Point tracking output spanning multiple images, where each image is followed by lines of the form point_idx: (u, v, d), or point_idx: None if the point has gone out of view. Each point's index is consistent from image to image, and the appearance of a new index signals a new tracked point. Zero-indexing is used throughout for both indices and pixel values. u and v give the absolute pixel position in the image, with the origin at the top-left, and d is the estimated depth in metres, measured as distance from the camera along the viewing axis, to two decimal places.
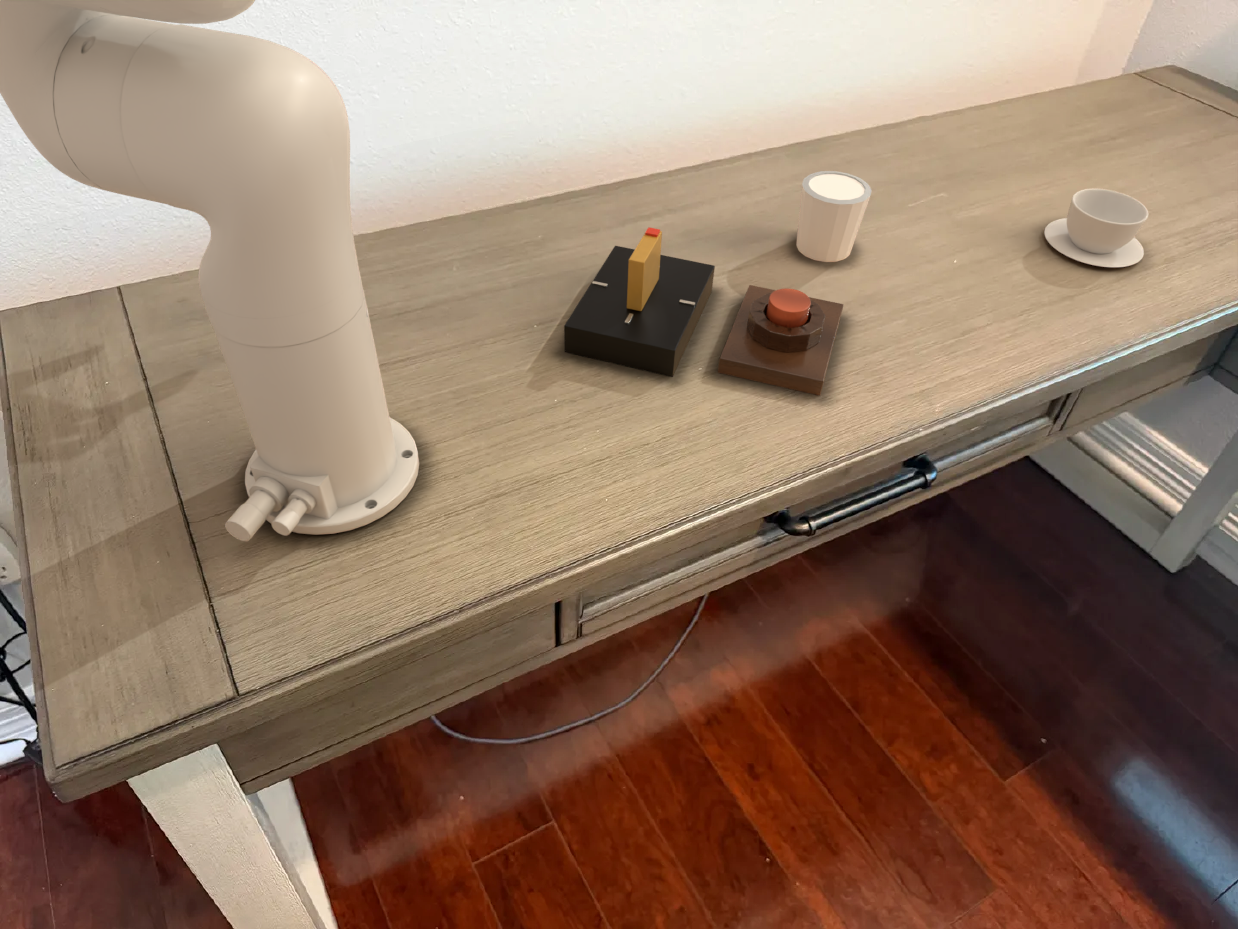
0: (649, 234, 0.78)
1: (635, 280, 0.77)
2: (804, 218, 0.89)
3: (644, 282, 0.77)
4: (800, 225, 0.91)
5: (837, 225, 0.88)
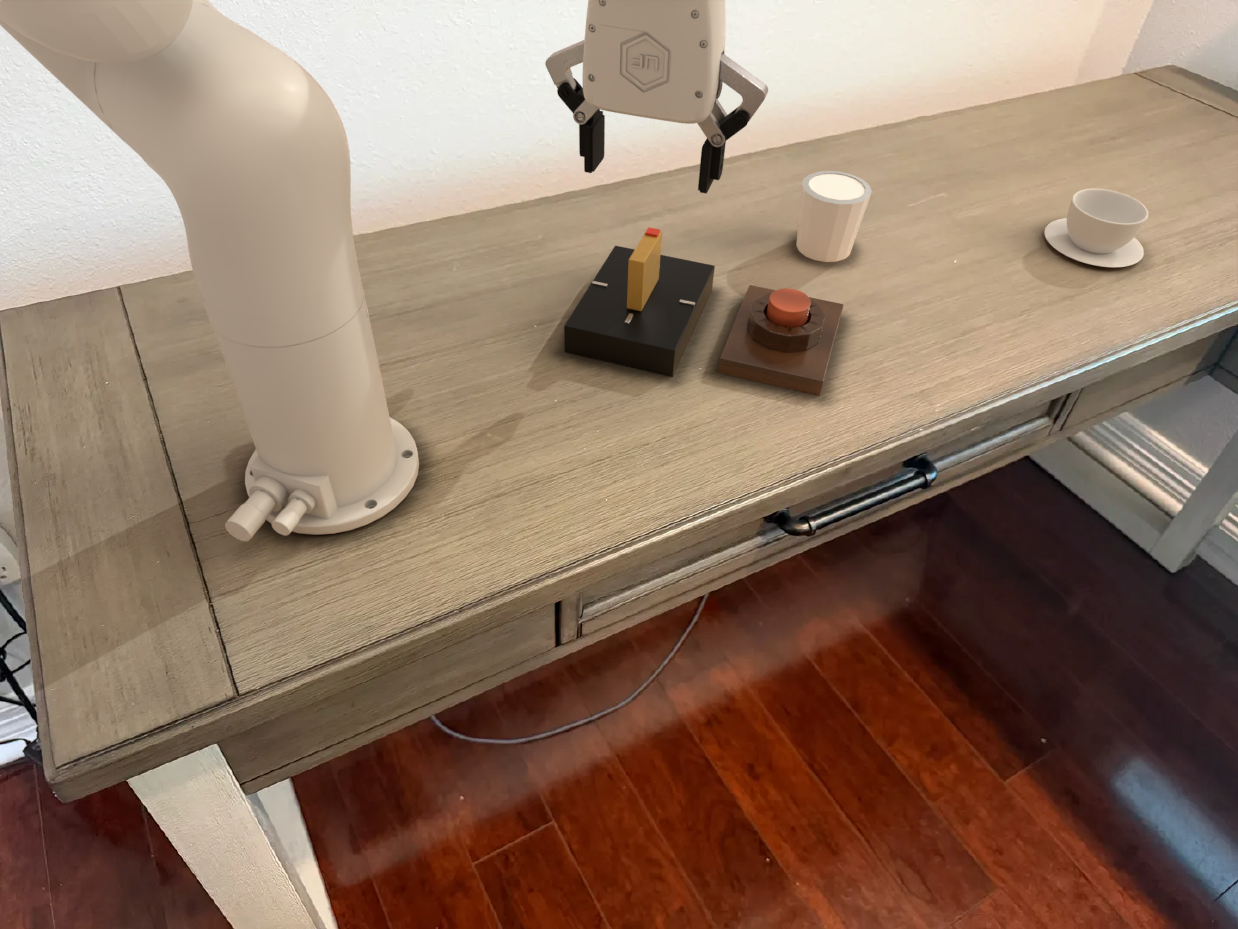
0: (649, 234, 0.78)
1: (635, 280, 0.77)
2: (804, 218, 0.89)
3: (644, 282, 0.77)
4: (800, 225, 0.91)
5: (837, 225, 0.88)
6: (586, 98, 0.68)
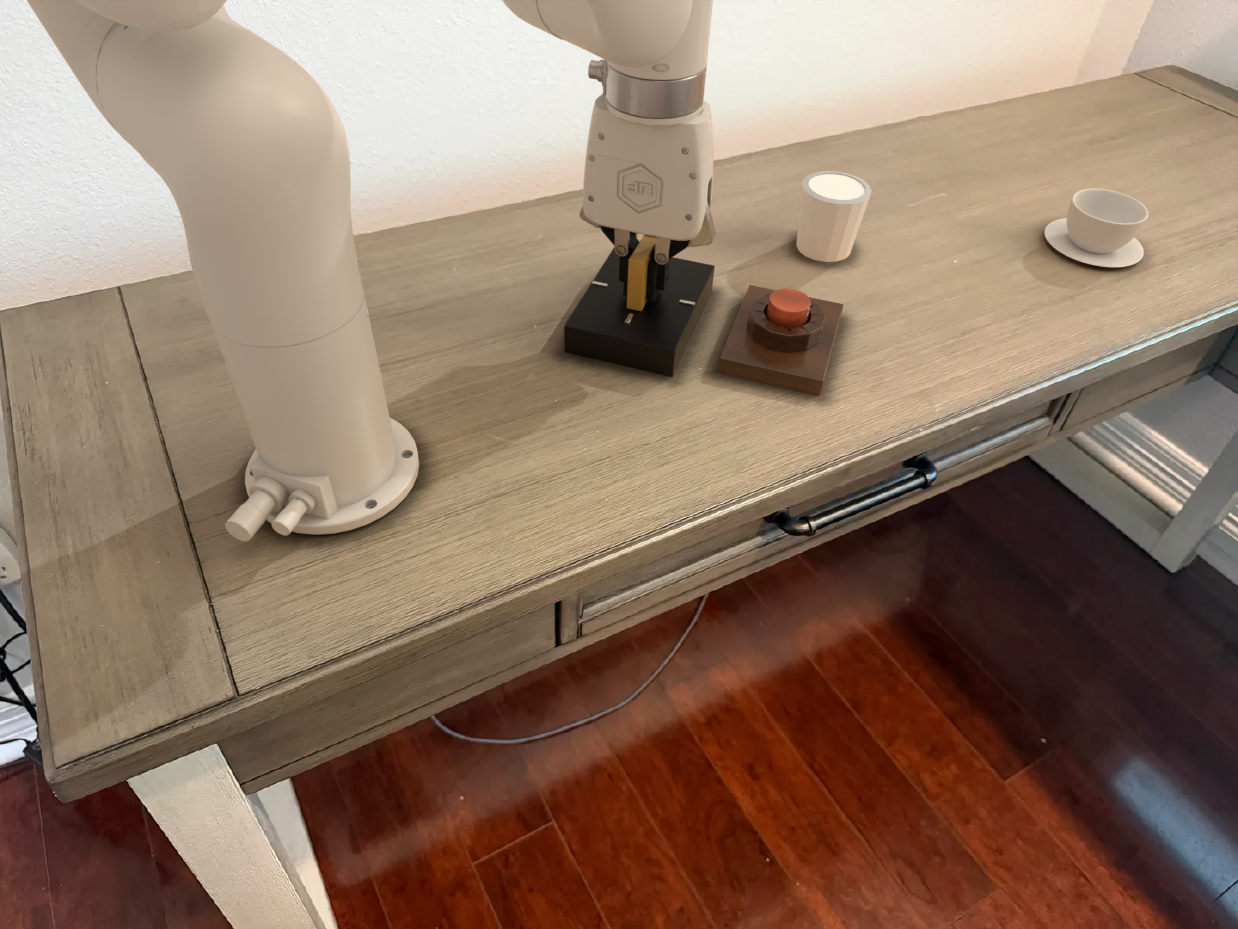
0: None
1: (635, 280, 0.77)
2: (804, 218, 0.89)
3: (644, 282, 0.77)
4: (800, 225, 0.91)
5: (837, 225, 0.88)
6: (586, 215, 0.74)
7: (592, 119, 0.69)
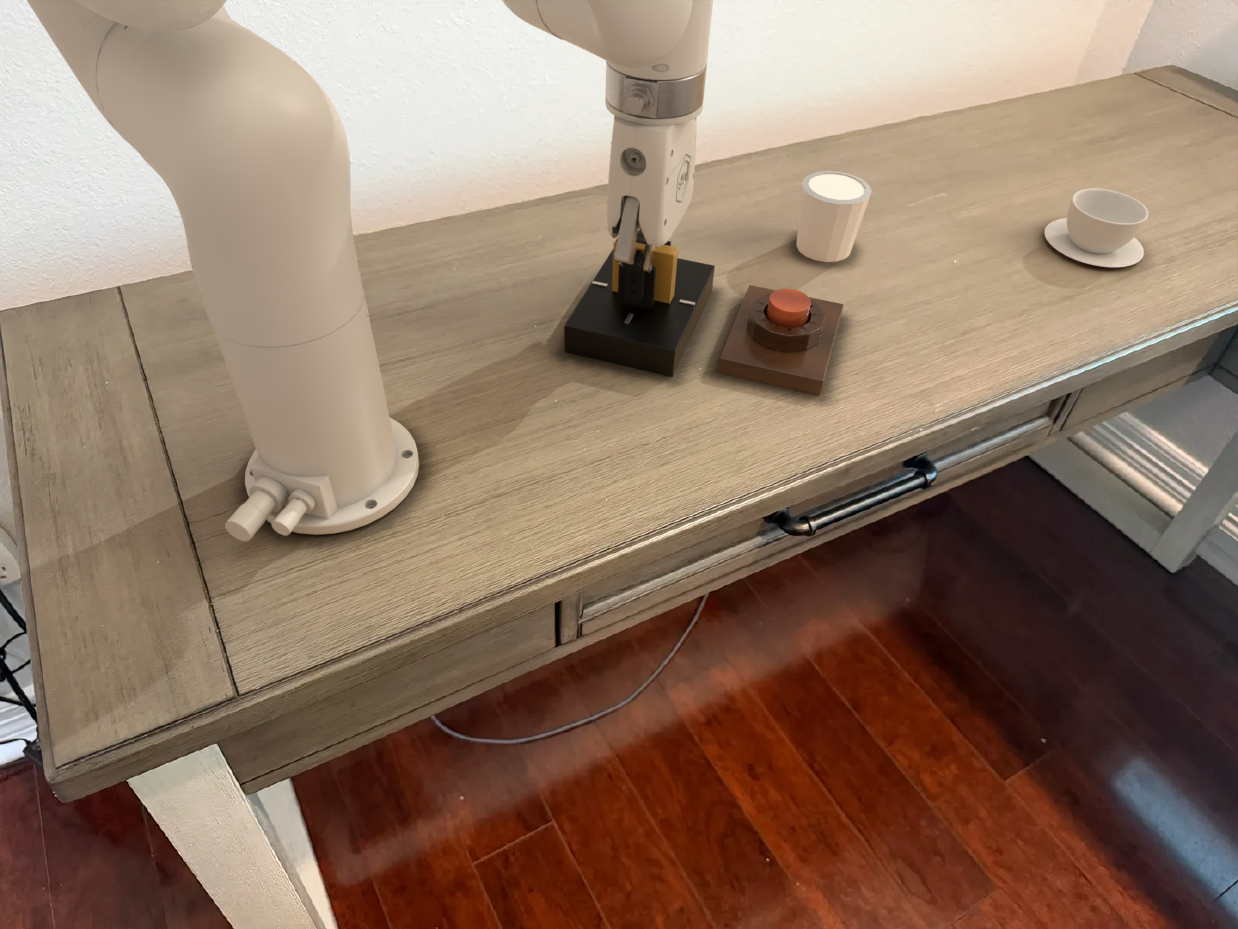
0: None
1: (674, 270, 0.78)
2: (804, 218, 0.89)
3: None
4: (800, 225, 0.91)
5: (837, 225, 0.88)
6: (660, 243, 0.71)
7: (661, 145, 0.66)
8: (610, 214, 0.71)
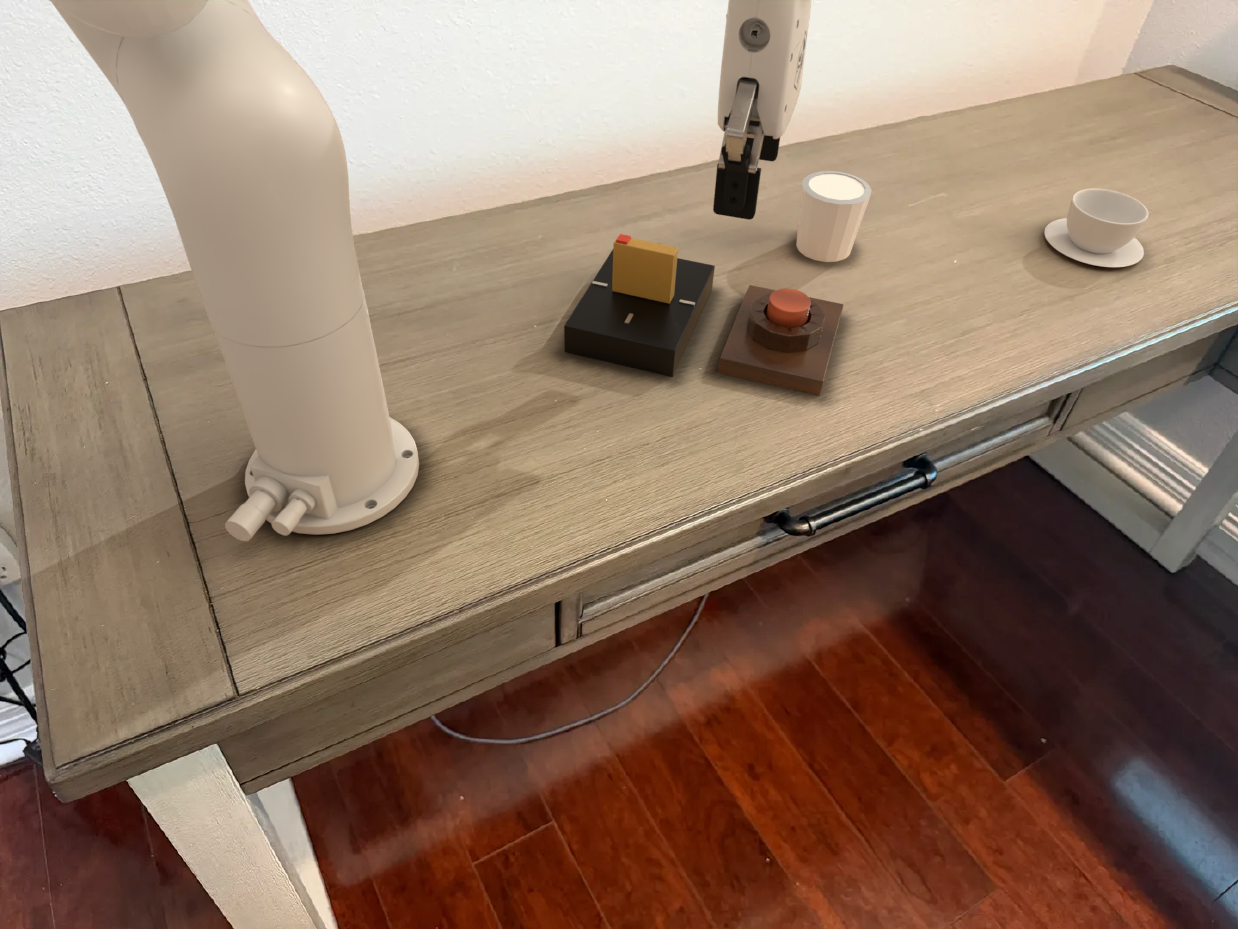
0: (628, 240, 0.77)
1: (674, 270, 0.78)
2: (804, 218, 0.89)
3: None
4: (800, 225, 0.91)
5: (837, 225, 0.88)
6: (779, 134, 0.63)
7: (788, 13, 0.58)
8: (723, 102, 0.63)
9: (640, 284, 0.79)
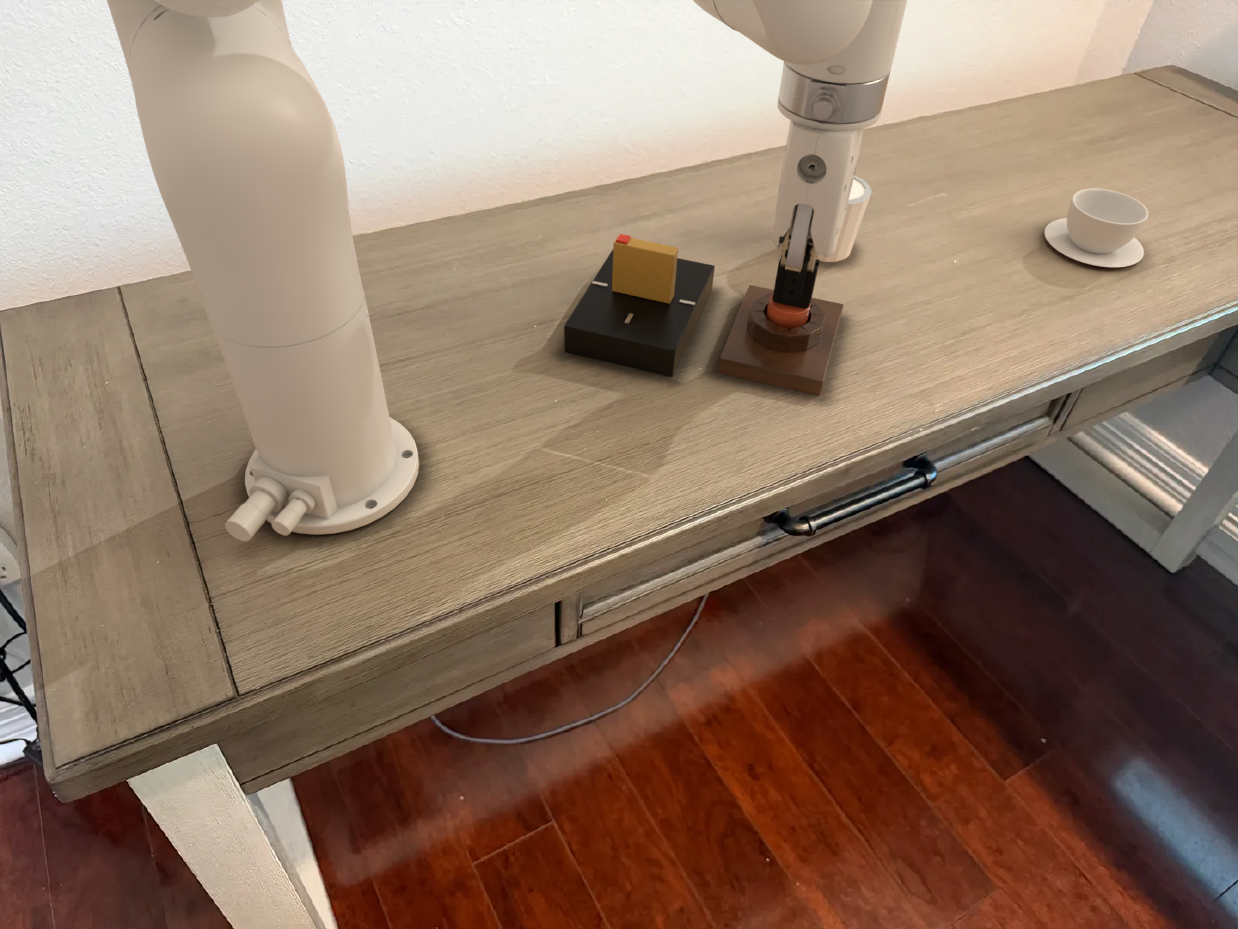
0: (628, 240, 0.77)
1: (674, 270, 0.78)
2: None
3: None
4: None
5: None
6: (830, 253, 0.68)
7: (844, 151, 0.63)
8: (779, 223, 0.68)
9: (640, 284, 0.79)
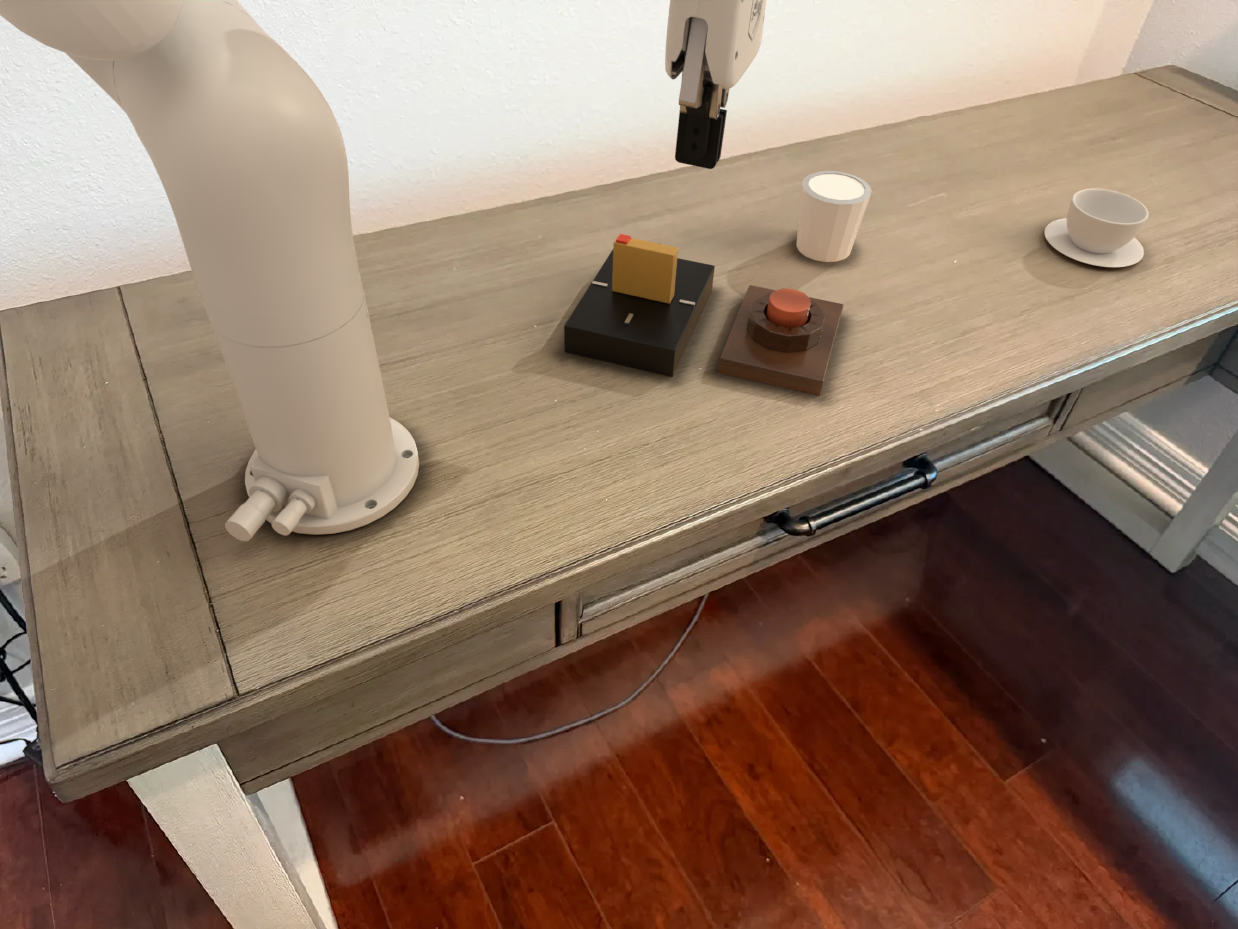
0: (628, 240, 0.77)
1: (674, 270, 0.78)
2: (804, 218, 0.89)
3: None
4: (800, 225, 0.91)
5: (837, 225, 0.88)
6: (729, 83, 0.59)
7: None
8: (670, 44, 0.59)
9: (640, 284, 0.79)
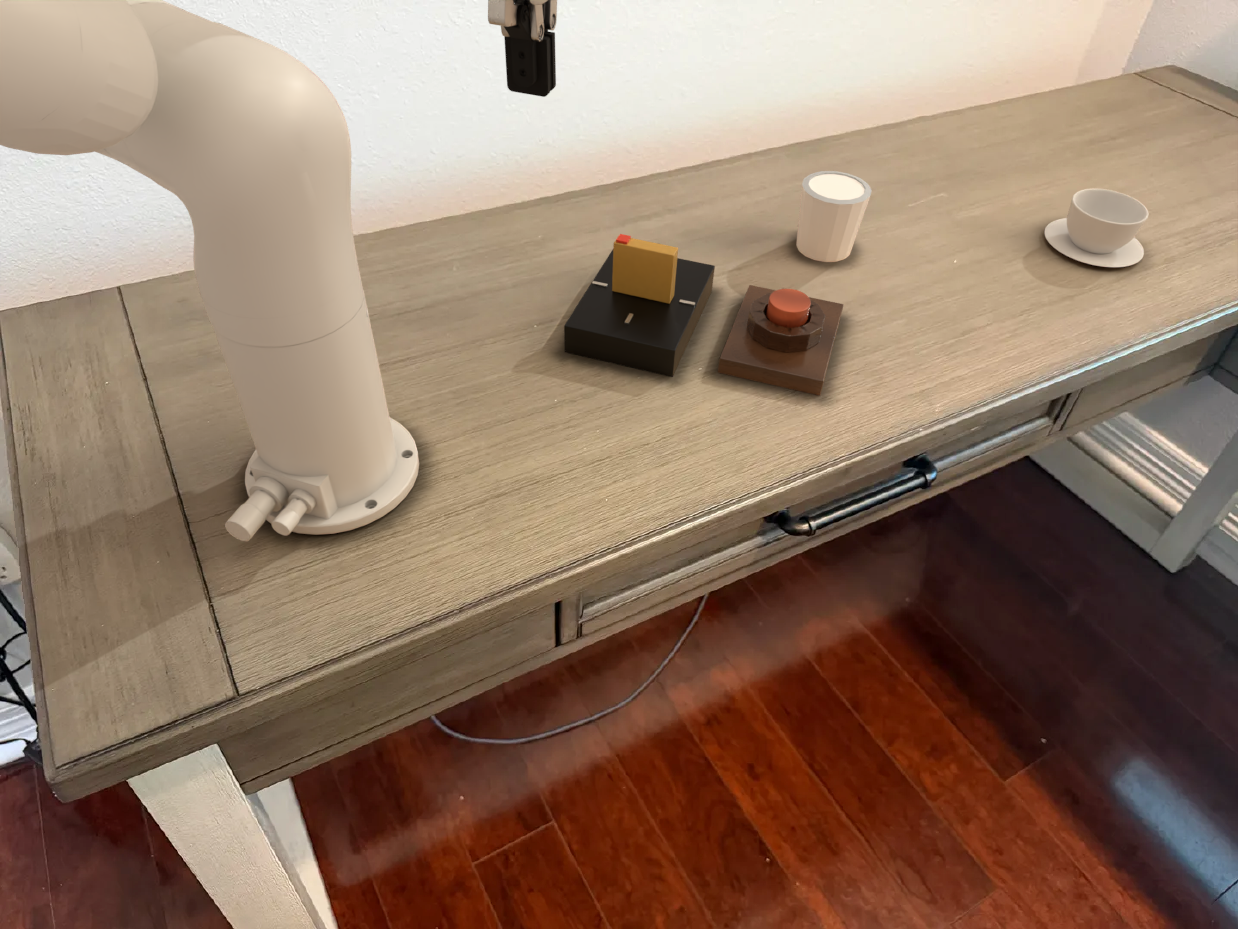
0: (628, 240, 0.77)
1: (674, 270, 0.78)
2: (804, 218, 0.89)
3: None
4: (800, 225, 0.91)
5: (837, 225, 0.88)
6: None
7: None
8: None
9: (640, 284, 0.79)
